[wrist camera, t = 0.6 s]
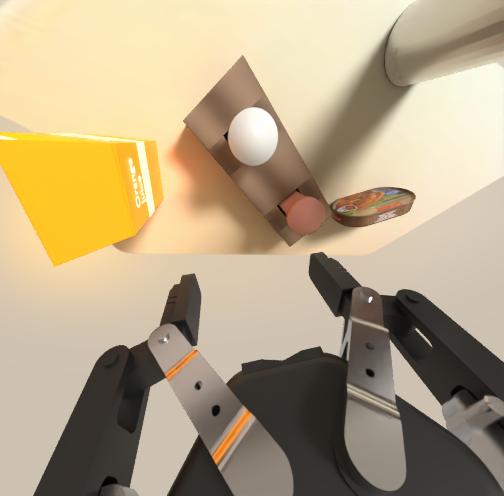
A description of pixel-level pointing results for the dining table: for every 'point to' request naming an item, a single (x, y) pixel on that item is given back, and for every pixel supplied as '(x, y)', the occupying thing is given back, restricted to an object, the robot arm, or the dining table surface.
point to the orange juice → (82, 187)
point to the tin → (372, 206)
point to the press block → (246, 176)
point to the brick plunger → (303, 213)
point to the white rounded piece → (253, 136)
